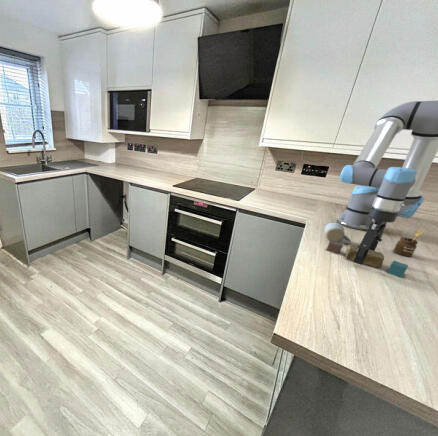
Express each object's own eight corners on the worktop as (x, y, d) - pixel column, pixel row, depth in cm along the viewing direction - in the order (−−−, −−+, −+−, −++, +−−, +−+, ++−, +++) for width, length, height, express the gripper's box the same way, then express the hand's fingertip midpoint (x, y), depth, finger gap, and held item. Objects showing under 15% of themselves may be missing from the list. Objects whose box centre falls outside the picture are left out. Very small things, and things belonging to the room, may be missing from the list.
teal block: (389, 269, 91) (393, 260, 90) (403, 274, 88) (408, 265, 87) (386, 272, 89) (391, 263, 88) (401, 277, 86) (406, 268, 85)
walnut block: (329, 247, 106) (332, 239, 105) (340, 251, 103) (343, 243, 102) (326, 250, 104) (329, 241, 103) (337, 253, 101) (340, 245, 100)
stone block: (344, 253, 101) (348, 243, 100) (379, 263, 95) (384, 252, 93) (344, 259, 97) (349, 248, 95) (381, 269, 91) (387, 258, 89)
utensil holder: (389, 250, 107) (400, 225, 103) (403, 250, 107) (415, 226, 103) (401, 256, 102) (414, 231, 98) (416, 257, 102) (429, 232, 97)
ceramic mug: (323, 239, 114) (328, 225, 111) (322, 234, 120) (327, 220, 118) (350, 246, 109) (357, 231, 106) (348, 240, 115) (354, 226, 112)
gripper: (390, 218, 78) (365, 272, 86) (405, 207, 92) (383, 254, 100) (362, 211, 84) (341, 262, 92) (380, 202, 98) (361, 247, 105)
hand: (363, 258), depth 96 cm, fingers open, 13 cm apart
